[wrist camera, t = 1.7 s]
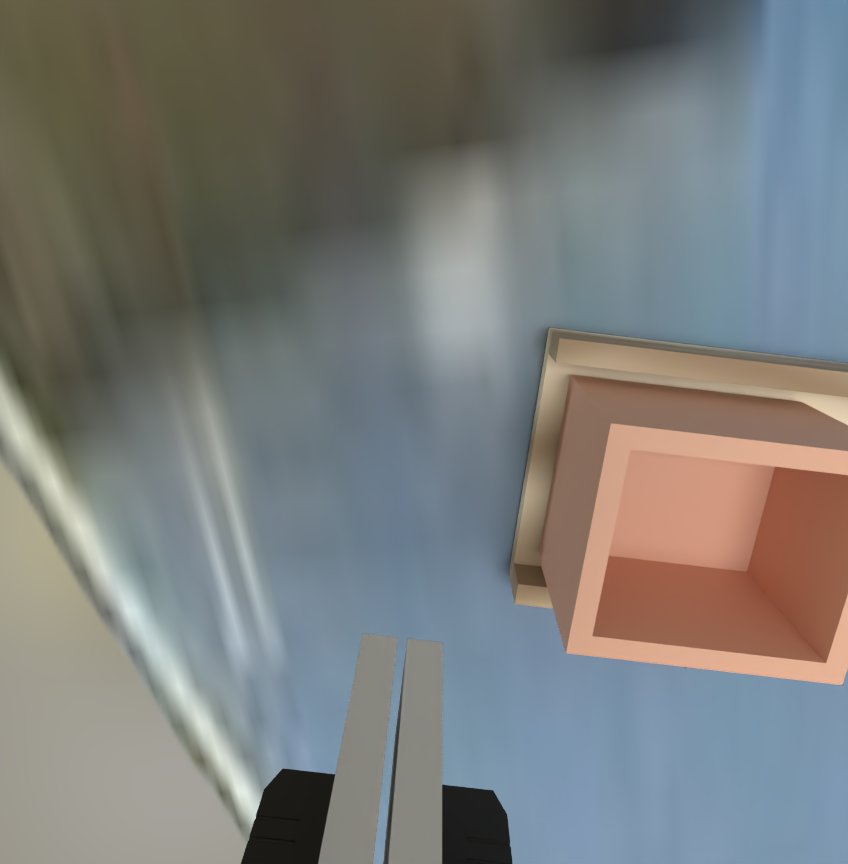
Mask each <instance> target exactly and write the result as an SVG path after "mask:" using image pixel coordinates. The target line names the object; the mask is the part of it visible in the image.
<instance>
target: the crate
mask: <svg viewBox="0 0 848 864" xmlns="http://www.w3.org/2000/svg"><path fill="white" fill-rule="evenodd" d="M538 557H539V560H540V564H541V567H542V571H543V574H544V578H545V581H546V585H547V588H548V592H549V595H550V599H551V602H552V606H553V609H554V613H555V616H556V620H557V623H558V627H559V630H560V634H561V637H562V641H563V644H564V648H565V651H566V653H569V654H578V655H586V656H595V657H604V658H612V659H621V660H630V661H638V662H647V663H656V664H664V665H673V666H682V667H690V668H699V669H708V670H716V671H725V672H734V673H742V674H751V675H760V676H768V677H777V678H785V679H794V680H803V681H811V682H820V683H829V684H837V685H842V684H843V681H844V678H845V675H846V672H847V669H848V425H846V424H844V423H842V422H840V421H838V420H836V419H834V418H832V417H830V416H828V415H827V414H825V413H823V412H821V411H819V410H817V409H815V408H813V407H811V406H809V405H807V404H805V403H803V402H798V401H790V400H782V399H773V398H765V397H756V396H748V395H739V394H731V393H723V392H714V391H706V390H697V389H689V388H680V387H672V386H664V385H655V384H647V383H638V382H630V381H621V380H613V379H605V378H596V377H588V376H579V375H571V374H570V379H569V385H568V391H567V397H566V402H565V408H564V414H563V419H562V425H561V431H560V436H559V442H558V448H557V453H556V459H555V465H554V471H553V476H552V482H551V488H550V493H549V499H548V505H547V510H546V516H545V522H544V527H543V533H542V539H541V545H540V550H539V556H538Z"/></svg>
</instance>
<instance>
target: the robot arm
mask: <svg viewBox="0 0 848 864" xmlns="http://www.w3.org/2000/svg"><path fill="white" fill-rule="evenodd" d="M397 638H398V637H390V636H381V635H373V634H364V633H363V634H362V640H361V645H360V650H359V655H358V660H357V665H356V671H355V676H354V681H353V686H352V691H351V696H350V702H349V707H348V712H347V717H346V722H345V727H344V732H343V738H342V743H341V748H340V753H339V758H338V763H337V769H336V774H326V773H317V772H308V771H299V770H291V769H282V770H281V771H280V772H279V773H278V775H277V776H276V777H275V778H274V779H273V780H272V781H271V782H270V784H269V785H268V786H267V787H266V788H265V789H264V792H263V795H262V798H261V802H260V805H259V808H258V811H257V814H256V819H255V821H254V824H253V827H252V830H251V833H250V838H249V841H248V843H247V846H246V849H245V853H244V856H243V859H242V862H241V864H373V860H374V851H375V841H376V832H377V823H378V814H379V804H380V795H381V786H382V777H383V768H384V758H385V749H386V740H387V731H388V721H389V712H390V703H391V694H392V684H393V675H394V666H395V657H396V647H397ZM383 864H512V856H511V847H510V837H509V828H508V819H507V814H506V812H505V810H504V809H503V807H502V805H501V803H500V802H499V800H498V798H497V797H496V795H495V793H494V791H492V790H484V789H475V788H466V787H457V786H448V785H442V642H434V641H425V640H416V639H407V646H406V654H405V662H404V670H403V678H402V686H401V694H400V702H399V711H398V719H397V727H396V735H395V743H394V753H393V764H392V775H391V786H390V797H389V807H388V818H387V829H386V840H385V851H384V862H383Z"/></svg>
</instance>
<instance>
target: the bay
mask: <svg viewBox="0 0 848 864" xmlns="http://www.w3.org/2000/svg"><path fill="white" fill-rule="evenodd" d="M570 374H571V375H579V376H588V377H596V378H605V379H613V380H621V381H630V382H638V383H647V384H655V385H664V386H672V387H680V388H689V389H697V390H706V391H714V392H723V393H731V394H739V395H748V396H756V397H765V398H773V399H782V400H790V401H798V402H803V403H805V404H807V405H809V406H811V407H813V408H815V409H817V410H819V411H821V412H823V413H825V414H827V415H828V416H830V417H832V418H834V419H836V420H838V421H840V422H842V423H844V424H846V425H848V363H842V362H834V361H825V360H817V359H808V358H800V357H792V356H783V355H775V354H767V353H758V352H750V351H741V350H733V349H725V348H716V347H708V346H699V345H691V344H683V343H674V342H666V341H657V340H649V339H641V338H632V337H624V336H616V335H607V334H599V333H590V332H582V331H574V330H565V329H557V328H549V331H548V337H547V343H546V349H545V355H544V362H543V368H542V374H541V380H540V386H539V392H538V398H537V404H536V410H535V416H534V422H533V429H532V435H531V441H530V447H529V453H528V459H527V465H526V471H525V477H524V483H523V489H522V496H521V502H520V508H519V514H518V520H517V526H516V532H515V538H514V544H513V550H512V556H511V563H510V569H509V576H510V582H511V587H512V592H513V598H514V603H515V604H518V605H527V606H535V607H544V608H553V606H552V602H551V599H550V595H549V592H548V588H547V585H546V581H545V578H544V574H543V571H542V567H541V564H540V560H539V557H538V556H539V550H540V545H541V539H542V533H543V527H544V522H545V516H546V510H547V505H548V499H549V493H550V488H551V482H552V476H553V471H554V465H555V459H556V453H557V448H558V442H559V436H560V431H561V425H562V419H563V414H564V408H565V402H566V397H567V391H568V385H569V379H570Z"/></svg>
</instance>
